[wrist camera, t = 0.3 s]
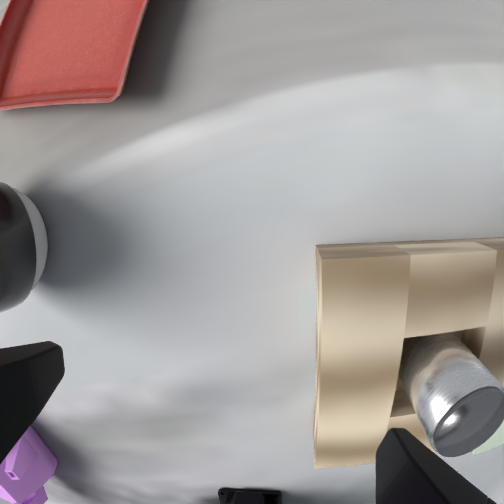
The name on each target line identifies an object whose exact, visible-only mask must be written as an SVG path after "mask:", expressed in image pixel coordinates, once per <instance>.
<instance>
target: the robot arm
mask: <svg viewBox="0 0 504 504" xmlns="http://www.w3.org/2000/svg"><path fill="white" fill-rule="evenodd" d="M64 372H65V367H64V359H63V350H62V348H61V346H60V345H58V344H55V343H53V342H51V341H46V342H40V343H34V344H28V345H22V346H15V347H9V348H2V349H0V464H1V463H2V462H3V460H4V459H5V458H6V456H7V455H8V454H9V452H10V451H11V450H12V448H13V447H14V446H15V445H16V443H17V442H18V441H19V439H20V438H21V437H22V435H23V434H24V433H25V432H26V430H27V429H28V428H29V427H30V425H31V424H32V423H33V421H34V420H35V419H36V418H37V416H38V415H39V414H40V412H41V411H42V409H43V408H44V406H45V405H46V403H47V401H48V400H49V398H50V397H51V395H52V393H53V392H54V390H55V389H56V387H57V386H58V384H59V383H60V381H61V380H62V378H63V376H64ZM218 495H219V499H220V502H221V504H282V494H281V492H278V491H250V490H235V489H223V488H221V489H219V491H218ZM376 504H496V503H495V502H494V501H493V500H491V499H490V498H488V497H487V496H486V495H485V494H484V493H483V492H481V491H480V490H479V489H478V488H476V487H475V486H474V485H473V484H471V483H470V482H469V481H468V480H466V479H465V478H464V477H463V476H461V475H460V474H459V473H458V472H457V471H455V470H454V469H453V468H452V467H450V466H449V465H448V464H447V463H446V462H444V461H443V460H442V459H441V458H440V457H438V456H437V455H436V454H435V453H434V452H432V451H431V450H430V449H429V448H428V447H426V446H425V445H424V444H423V443H422V442H421V441H419V440H418V439H417V438H416V437H415V436H413V435H412V434H411V433H410V432H409V431H408V430H406V429H405V428H390V429H389V430H388V431H387V433H386V435H385V436H384V438H383V440H382V442H381V443H380V445H379V447H378V448H377V451H376Z"/></svg>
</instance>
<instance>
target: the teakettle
mask: <svg viewBox="0 0 504 504" xmlns="http://www.w3.org/2000/svg"><path fill="white" fill-rule="evenodd" d="M57 463H58V460H57V458H56V457H55V456H54V455H53V453H52V452H51V451H50V450H49V448H48V447H47V446H46V445H45V443H44V442H43V441H42V439H41V438H40V437H39V436H38V434H37V433H36V432H35V430H34V429H33V428H32V426H31V425H30V427H29V428H28V429H27V430H26V432H25V433H24V434H23V435H22V437H21V438H20V439H19V441H18V442H17V443H16V445H15V446H14V447H13V448H12V450H11V451H10V452H9V454H8V455H7V456H6V458H5V459H4V460H3V462H2V463H1V464H0V498H2V499H4V500H7V501H9V502H10V503H11V504H44V503H45V502H46V501H47V499H48V497H47V495H46V492H45V489H44V487H43V485H44V484H45V483H46V482H47V481H48V479H49V478H50V477H51V476H52V475H53V474H54V472H55V470H56V467H57Z"/></svg>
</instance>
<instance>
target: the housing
mask: <svg viewBox="0 0 504 504" xmlns="http://www.w3.org/2000/svg"><path fill="white" fill-rule="evenodd" d="M316 273H317V352H316V388H315V411H314V429H313V441H314V464H315V468H329V467H342V466H352V465H361V464H369V463H376V451H377V448H378V447H379V445H380V443H381V442H382V440H383V438H384V436H385V435H386V433H387V431H388V430H389V429H390V428H405V429H406V430H408V431H409V432H410V433H411V434H412V435H413V436H415V437H416V438H417V439H418V440H419V441H421V442H422V443H423V444H424V445H425V446H426V447H428V448H429V449H430V450H431V451H432V452H434V450H433V449H432V447H431V445H430V443H429V441H428V439H427V436H426V434H425V432H424V430H423V427H422V425H421V423H420V421H419V419H418V417H417V414H416V412H415V410H414V408H413V406H412V404H411V402H410V400H409V397H408V395H407V393H406V391H405V389H404V387H403V385H402V383H401V381H400V379H399V377H398V374H399V368H400V361H401V355H402V348H403V341H404V338H409V337H418V336H425V335H433V334H440V333H447V332H453V333H454V334H455V335H456V336H457V337H458V338H459V339H460V340H461V341H462V342H463V343H464V345H465V346H466V347H467V348H468V349H469V350H470V351H471V352H472V353H473V354H474V355H475V356H476V357H477V358H478V359H479V360H480V362H481V363H482V364H483V365H484V366H485V367H486V368H487V369H488V370H489V371H490V372H491V374H492V375H493V376H494V377H495V378H496V379H497V380H498V381H499V383H500V384H501V385H502V386H503V387H504V238H480V239H454V240H429V241H404V242H380V243H356V244H332V245H316Z"/></svg>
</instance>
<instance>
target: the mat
mask: <svg viewBox="0 0 504 504" xmlns="http://www.w3.org/2000/svg"><path fill="white" fill-rule="evenodd" d="M503 444H504V420H503V422H502V424H501V425H500V427H499V428H498V429H497V431H496V432H495V433H494V434H493V435H492V436H491V437H490V438H489V439H488V440H487V441H486V442H484V443H483V444H482V445H480V446H479V447H478V448H476V449H474V450H472V453H473V455H476V454H479V453H482V452H485V451H487V450H490V449H493V448H495V447H498V446H501V445H503Z"/></svg>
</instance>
